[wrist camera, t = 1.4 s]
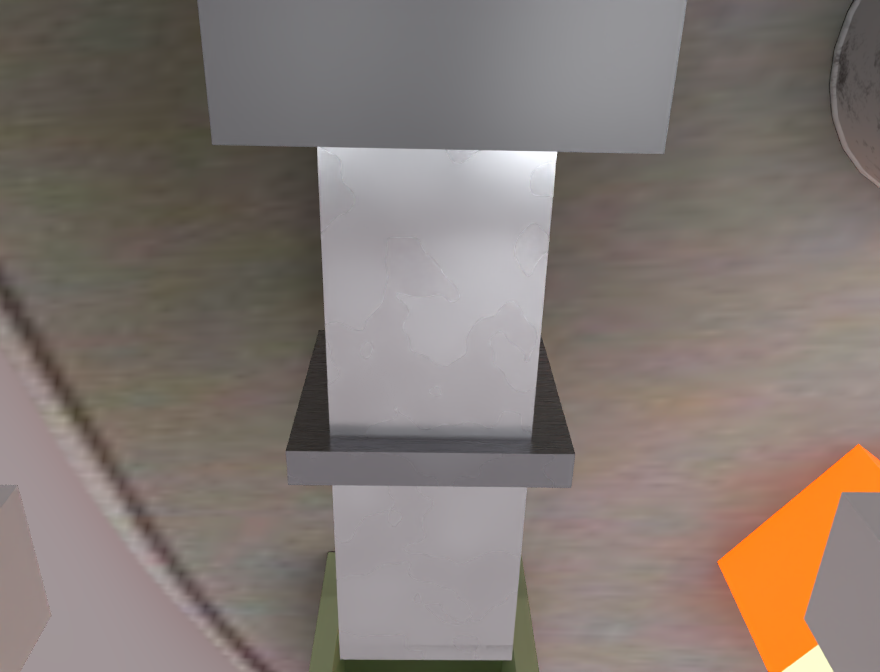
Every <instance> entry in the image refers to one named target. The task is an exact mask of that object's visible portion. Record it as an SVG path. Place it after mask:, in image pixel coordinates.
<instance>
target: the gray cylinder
mask: <svg viewBox="0 0 880 672" xmlns="http://www.w3.org/2000/svg"><path fill="white" fill-rule="evenodd" d="M830 96H831V108H832V119H833V122H834V125H835V127H836V130H837V133H838V136H839V139H840V142H841V145H842V148H843V149H844V151H845V152H846V153H847V155H848V156H849V158H850V159H851V161H852V162H853V163H854V165H855V166H856V168H857V169H858V171H859V172H860V173H861V174H863V175H864V176H865V177H866V178H868V179H869V180H870V181H871V182H873V183H874V184H875V185H876V186H878V187H879V188H880V0H854V2H853V3H852V5H851V7H850V9H849V10H848V12H847V15H846V18H845V21H844V24H843V26H842V29H841V32H840V35H839V38H838V41H837V43H836V46H835V49H834V56H833V64H832V71H831V78H830Z"/></svg>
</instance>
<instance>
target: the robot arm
mask: <svg viewBox="0 0 880 672" xmlns="http://www.w3.org/2000/svg"><path fill="white" fill-rule="evenodd" d="M50 617H51V612H50V608H49V604H48V600H47V596H46V592H45V589H44V585H43V581H42V577H41V573H40V569H39V565H38V562H37V557H36V554H35V550H34V546H33V542H32V538H31V534H30V530H29V527H28V523H27V519H26V515H25V511H24V507H23V503H22V499H21V496H20V492H19V488H18V485H0V672H20V671H21V669H22V667H23V666H24V664H25V662H26V660H27V659H28V657H29V655H30V653H31V651H32V650H33V648H34V646H35V644H36V642H37V641H38V639H39V637H40V635H41V633H42V632H43V630H44V628H45V626H46V624H47V623H48V621H49V619H50ZM804 620H805V622H806V624H807V625H808V627H809V629H810V631H811V632H812V634H813V636H814V638H815V640H816V641H817V643H818V645H819V647H820V649H821V650H822V652H823V654H824V656H825V658H826V659H827V661H828V663H829V665H830V666H831V668H832V670H833V672H880V492H842V493H841V497H840V500H839V503H838V507H837V510H836V513H835V516H834V520H833V523H832V526H831V530H830V533H829V536H828V540H827V543H826V546H825V550H824V553H823V556H822V560H821V563H820V566H819V570H818V573H817V576H816V580H815V583H814V586H813V590H812V593H811V596H810V600H809V603H808V606H807V610H806V613H805V616H804Z"/></svg>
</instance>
